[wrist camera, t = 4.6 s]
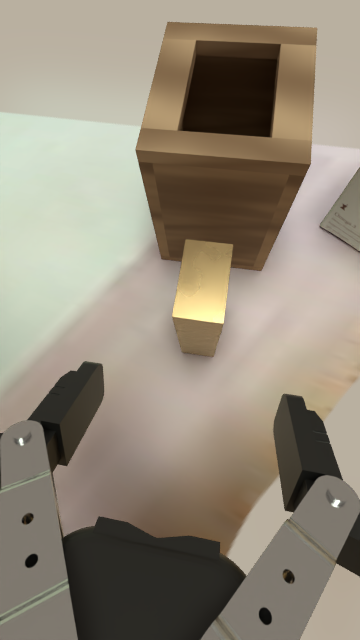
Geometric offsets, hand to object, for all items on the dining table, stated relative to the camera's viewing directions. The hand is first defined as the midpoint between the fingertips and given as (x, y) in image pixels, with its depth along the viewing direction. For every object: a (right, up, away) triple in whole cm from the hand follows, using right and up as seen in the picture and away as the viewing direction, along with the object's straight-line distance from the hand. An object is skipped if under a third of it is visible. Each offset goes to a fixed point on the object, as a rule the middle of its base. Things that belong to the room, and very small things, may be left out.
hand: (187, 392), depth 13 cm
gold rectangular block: (+2, +3, +12) cm, 12 cm away
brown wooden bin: (+3, +13, +15) cm, 20 cm away
